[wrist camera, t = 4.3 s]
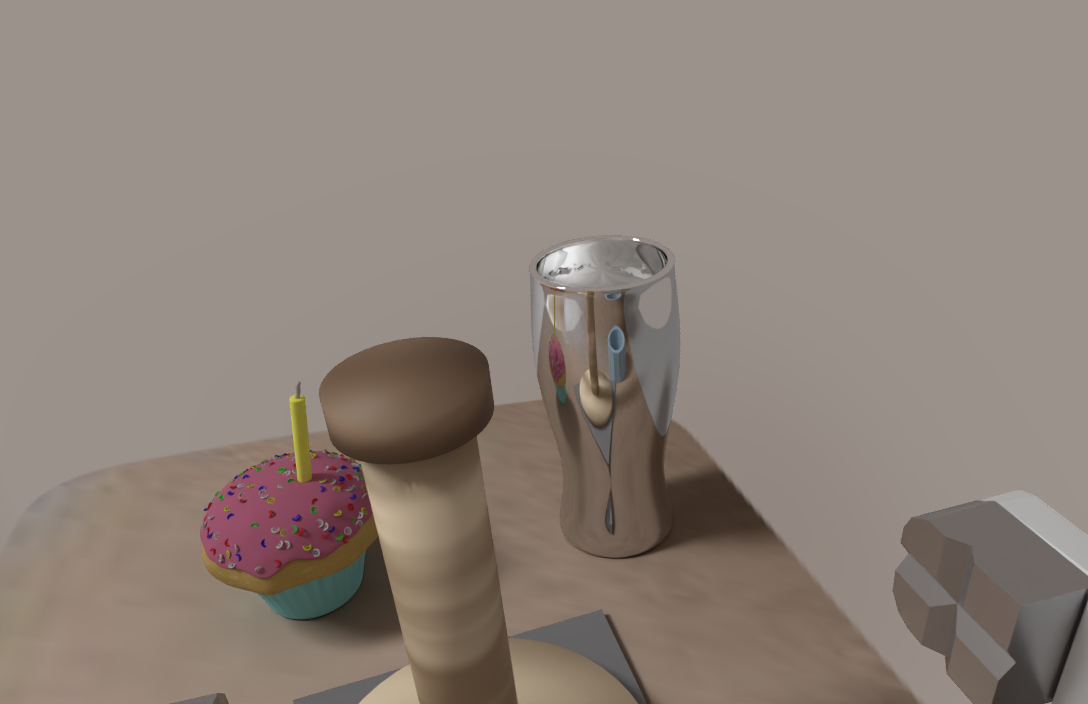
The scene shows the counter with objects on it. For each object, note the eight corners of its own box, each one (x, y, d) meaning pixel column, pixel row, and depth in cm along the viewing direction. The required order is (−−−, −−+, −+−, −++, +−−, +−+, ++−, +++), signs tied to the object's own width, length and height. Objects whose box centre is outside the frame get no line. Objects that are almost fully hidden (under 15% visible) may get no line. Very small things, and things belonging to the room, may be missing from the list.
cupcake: (412, 526, 43) (370, 333, 38) (379, 651, 36) (320, 433, 30) (261, 533, 44) (197, 345, 38) (198, 658, 36) (107, 446, 31)
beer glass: (664, 472, 45) (660, 226, 38) (696, 555, 39) (698, 280, 32) (545, 488, 45) (519, 242, 38) (559, 573, 39) (530, 300, 32)
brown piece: (733, 920, 25) (757, 453, 16) (313, 1086, 22) (78, 630, 13) (595, 620, 36) (566, 251, 27) (305, 705, 33) (173, 325, 25)
